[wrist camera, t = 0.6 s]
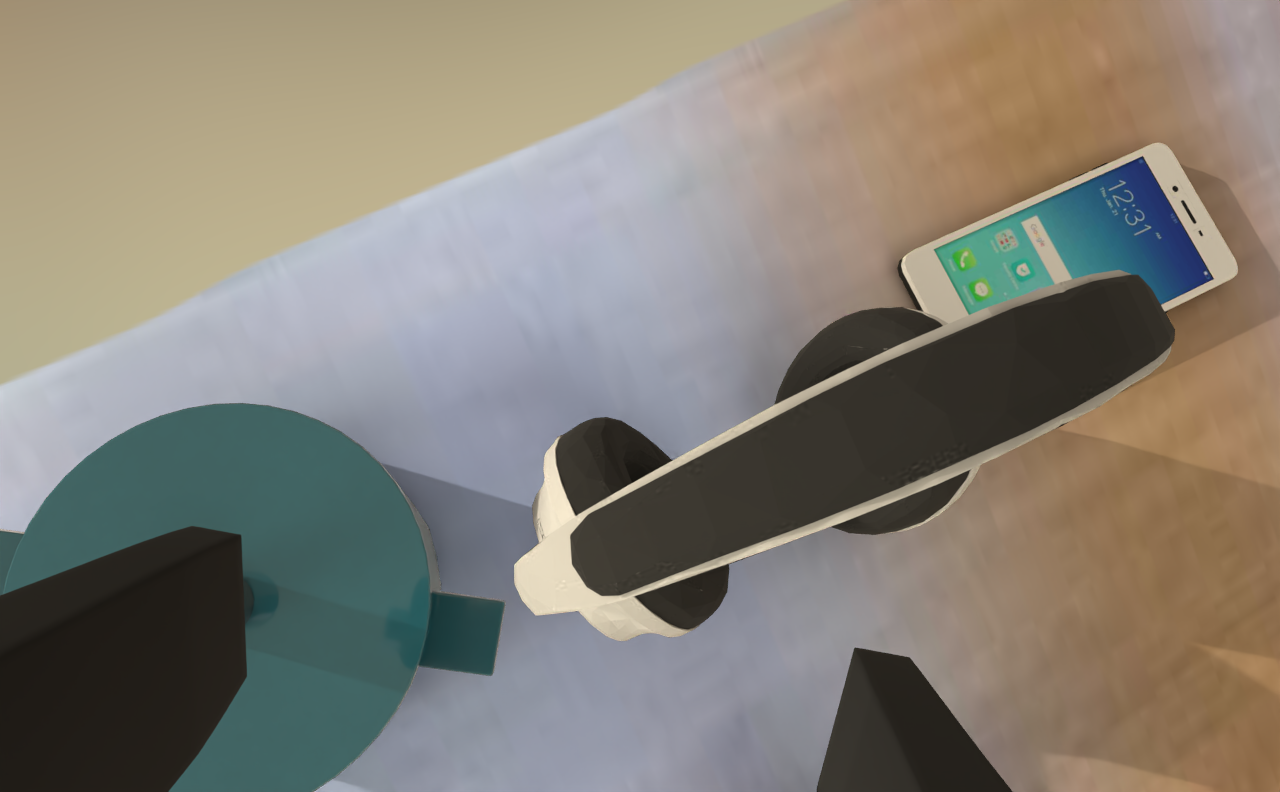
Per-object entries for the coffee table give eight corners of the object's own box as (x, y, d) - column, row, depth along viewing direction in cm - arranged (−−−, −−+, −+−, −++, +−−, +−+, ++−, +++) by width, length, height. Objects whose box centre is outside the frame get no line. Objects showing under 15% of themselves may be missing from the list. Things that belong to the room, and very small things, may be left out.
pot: (479, 780, 32) (464, 834, 26) (13, 723, 31) (-121, 765, 25) (530, 479, 35) (528, 462, 28) (99, 413, 33) (-4, 380, 27)
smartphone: (896, 254, 37) (1164, 135, 40) (889, 261, 38) (1152, 144, 41) (977, 406, 36) (1246, 274, 39) (967, 409, 37) (1231, 280, 40)
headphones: (565, 677, 33) (598, 849, 14) (483, 481, 34) (406, 382, 15) (973, 483, 37) (1465, 398, 17) (888, 310, 38) (1259, 44, 18)
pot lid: (392, 837, 26) (369, 880, 23) (-33, 788, 25) (-126, 825, 22) (466, 440, 29) (456, 424, 25) (82, 380, 28) (16, 354, 24)
